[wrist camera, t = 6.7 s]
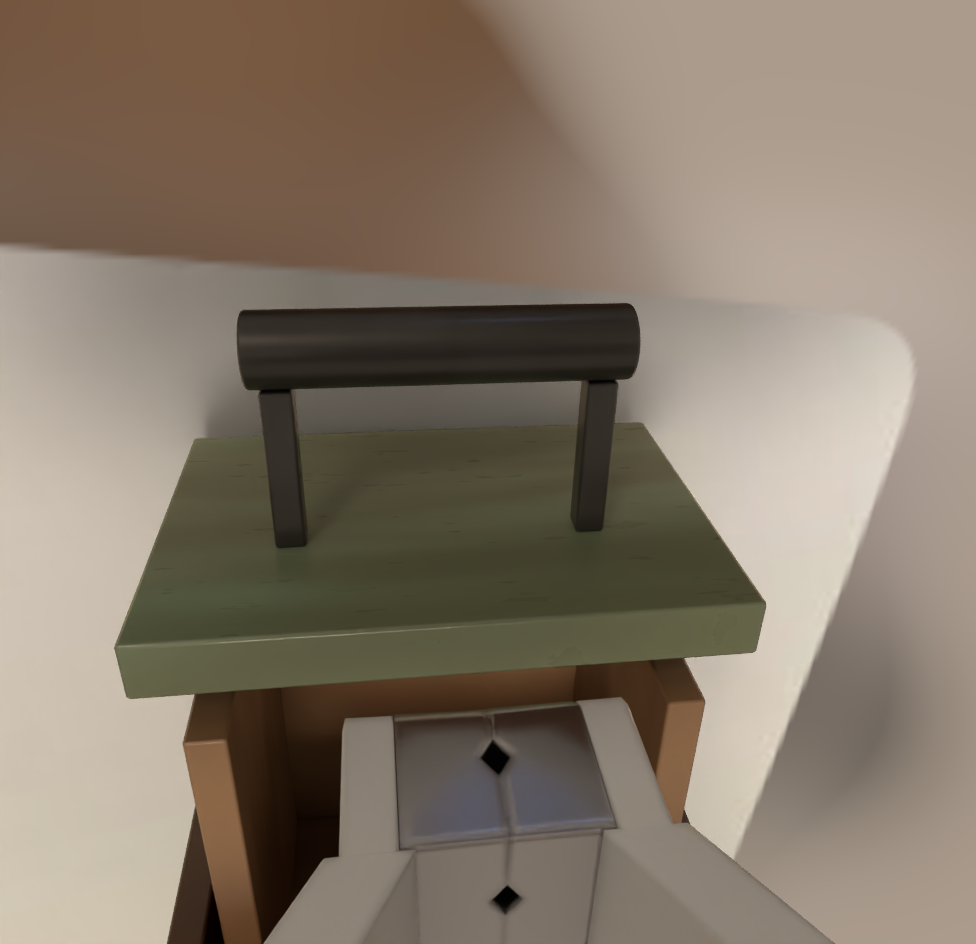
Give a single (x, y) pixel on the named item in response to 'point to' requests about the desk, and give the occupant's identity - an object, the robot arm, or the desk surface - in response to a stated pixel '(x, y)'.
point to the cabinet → (203, 896)
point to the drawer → (417, 574)
